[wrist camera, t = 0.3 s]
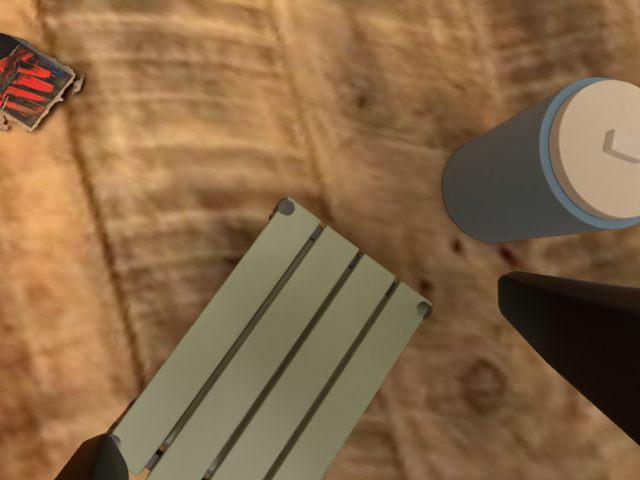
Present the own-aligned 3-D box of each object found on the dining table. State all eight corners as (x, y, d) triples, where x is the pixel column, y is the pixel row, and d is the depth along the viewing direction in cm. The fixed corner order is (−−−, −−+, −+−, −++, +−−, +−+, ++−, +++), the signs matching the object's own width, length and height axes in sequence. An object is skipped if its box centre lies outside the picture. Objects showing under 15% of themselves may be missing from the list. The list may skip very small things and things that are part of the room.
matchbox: (-15, 28, 20) (-21, 22, 20) (90, 65, 21) (87, 61, 21) (-52, 112, 20) (-59, 109, 19) (58, 148, 21) (53, 145, 20)
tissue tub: (554, 180, 26) (719, 133, 17) (504, 263, 25) (652, 260, 16) (477, 117, 26) (607, 32, 17) (421, 199, 24) (529, 157, 15)
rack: (400, 299, 24) (436, 306, 19) (267, 503, 22) (274, 562, 17) (276, 208, 23) (285, 193, 18) (124, 411, 21) (93, 449, 16)
